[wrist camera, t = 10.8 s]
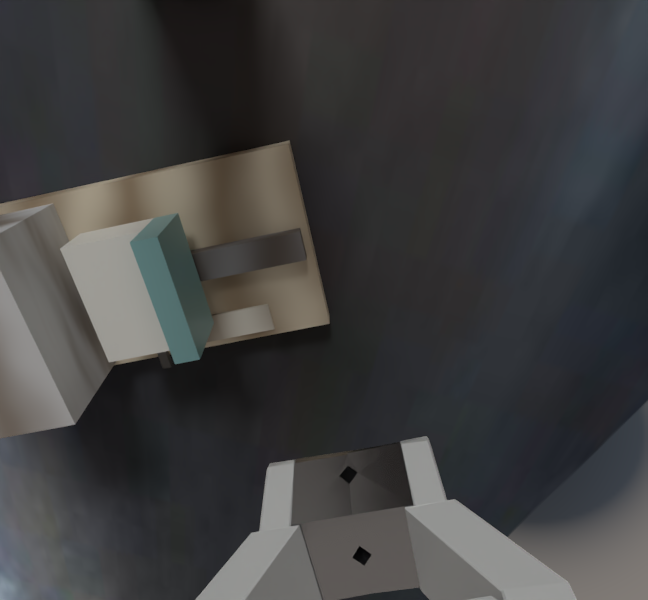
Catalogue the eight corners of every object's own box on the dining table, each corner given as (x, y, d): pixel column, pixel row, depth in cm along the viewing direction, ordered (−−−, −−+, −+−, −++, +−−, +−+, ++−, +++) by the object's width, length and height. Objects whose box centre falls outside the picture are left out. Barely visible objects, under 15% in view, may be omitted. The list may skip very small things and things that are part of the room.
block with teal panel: (177, 212, 35) (157, 236, 30) (224, 353, 39) (211, 393, 34) (79, 233, 35) (44, 260, 31) (135, 370, 39) (112, 411, 35)
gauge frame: (289, 140, 36) (281, 167, 27) (329, 314, 41) (332, 383, 32) (-37, 211, 38) (-142, 258, 29) (42, 370, 43) (-28, 450, 34)
